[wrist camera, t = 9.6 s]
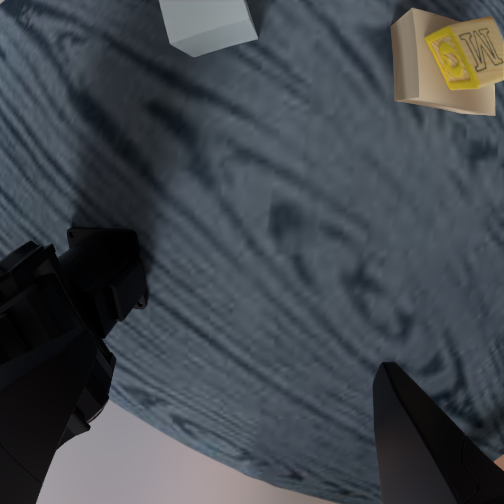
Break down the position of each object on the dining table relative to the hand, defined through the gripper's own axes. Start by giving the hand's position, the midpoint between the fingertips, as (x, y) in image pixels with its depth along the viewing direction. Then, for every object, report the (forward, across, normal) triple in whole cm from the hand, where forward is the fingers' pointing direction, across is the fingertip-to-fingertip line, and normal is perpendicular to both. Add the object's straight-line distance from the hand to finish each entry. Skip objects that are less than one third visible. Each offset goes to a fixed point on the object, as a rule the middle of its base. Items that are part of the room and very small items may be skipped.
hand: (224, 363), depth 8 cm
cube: (+12, +3, -13) cm, 18 cm away
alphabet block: (+8, -10, -11) cm, 17 cm away
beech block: (+12, -10, -11) cm, 19 cm away
